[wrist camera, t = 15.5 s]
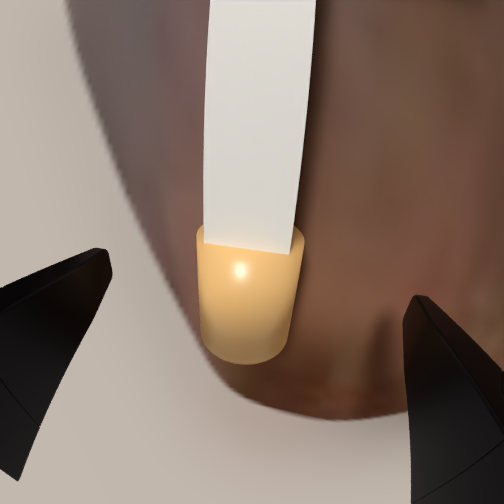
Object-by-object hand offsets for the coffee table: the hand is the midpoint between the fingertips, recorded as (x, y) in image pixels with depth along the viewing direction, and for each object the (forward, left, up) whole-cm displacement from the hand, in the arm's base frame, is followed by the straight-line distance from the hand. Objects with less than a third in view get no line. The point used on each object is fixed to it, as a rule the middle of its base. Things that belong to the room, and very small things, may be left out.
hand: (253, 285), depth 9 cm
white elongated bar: (0, -5, -3) cm, 6 cm away
